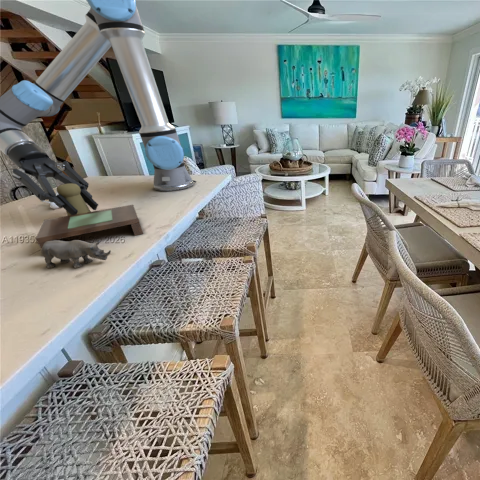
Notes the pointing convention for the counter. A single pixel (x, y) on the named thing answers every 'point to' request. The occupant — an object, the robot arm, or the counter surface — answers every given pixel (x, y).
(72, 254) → the rhino figurine
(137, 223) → the shelf
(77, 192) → the cork
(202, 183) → the counter surface
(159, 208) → the counter surface
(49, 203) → the woman figurine
